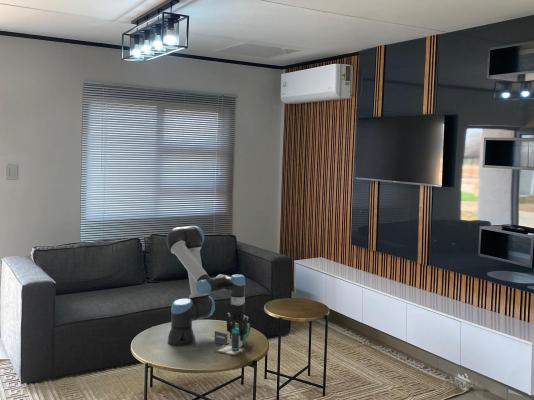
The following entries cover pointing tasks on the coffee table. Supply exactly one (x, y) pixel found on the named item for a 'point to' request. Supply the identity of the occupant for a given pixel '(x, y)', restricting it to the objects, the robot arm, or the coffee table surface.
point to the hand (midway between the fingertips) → (236, 345)
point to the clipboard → (229, 350)
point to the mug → (245, 334)
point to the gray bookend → (220, 338)
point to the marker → (235, 338)
